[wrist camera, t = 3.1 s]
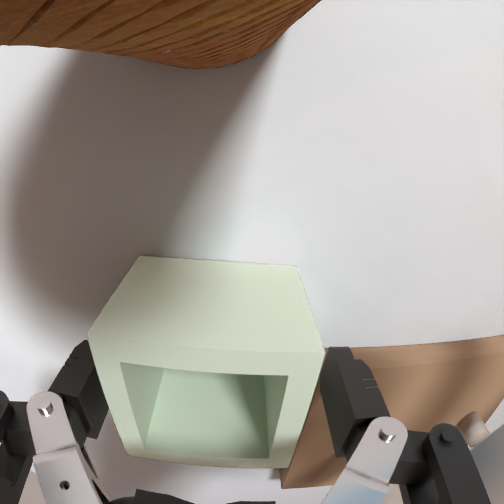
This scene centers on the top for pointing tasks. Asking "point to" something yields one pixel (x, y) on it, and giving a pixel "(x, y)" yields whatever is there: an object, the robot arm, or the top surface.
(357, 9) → the top surface
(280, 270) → the hollow square block
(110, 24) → the disposable coffee cup
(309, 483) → the post base
